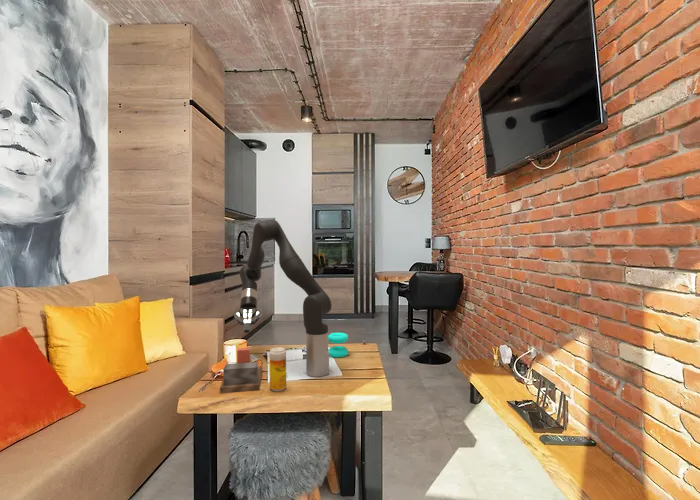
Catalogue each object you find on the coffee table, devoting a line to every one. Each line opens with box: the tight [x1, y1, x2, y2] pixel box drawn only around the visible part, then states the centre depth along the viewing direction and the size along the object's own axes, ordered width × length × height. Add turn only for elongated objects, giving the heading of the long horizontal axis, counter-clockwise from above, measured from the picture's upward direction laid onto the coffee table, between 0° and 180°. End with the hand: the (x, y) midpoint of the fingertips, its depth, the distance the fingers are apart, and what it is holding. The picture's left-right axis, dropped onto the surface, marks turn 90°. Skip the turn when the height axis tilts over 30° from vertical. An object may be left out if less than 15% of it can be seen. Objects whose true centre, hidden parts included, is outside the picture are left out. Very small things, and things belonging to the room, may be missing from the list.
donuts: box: [328, 332, 349, 358], centre depth 179 cm, size 10×10×10 cm
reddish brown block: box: [236, 347, 252, 363], centre depth 153 cm, size 5×3×9 cm, turn 100°
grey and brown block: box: [219, 361, 263, 394], centre depth 147 cm, size 14×20×8 cm
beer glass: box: [269, 346, 287, 392], centre depth 140 cm, size 6×6×15 cm
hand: (246, 331), depth 166 cm, fingers closed
